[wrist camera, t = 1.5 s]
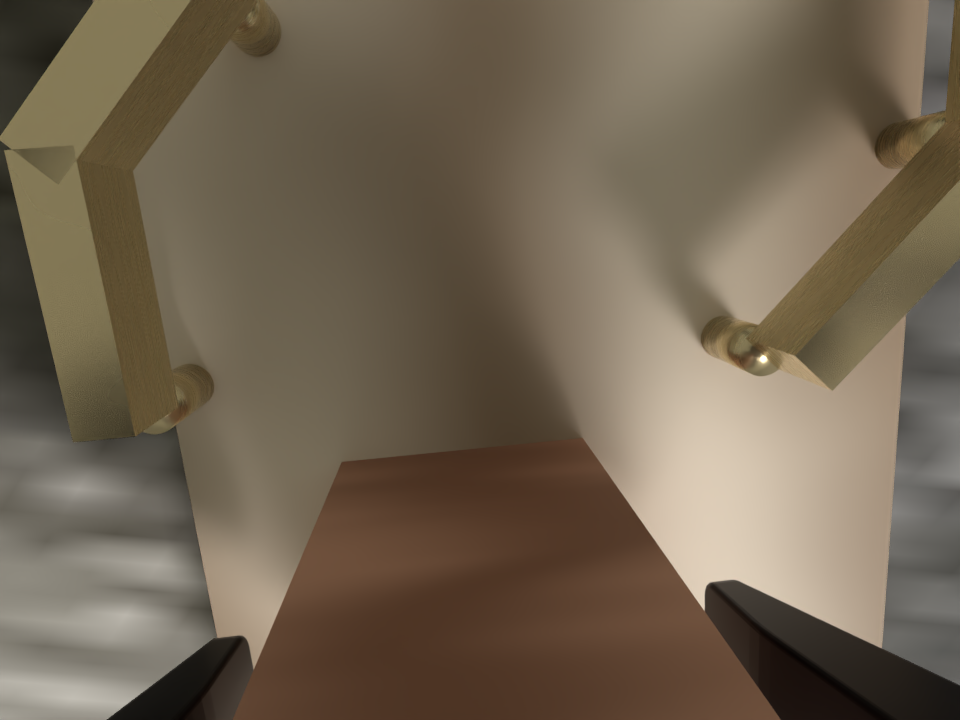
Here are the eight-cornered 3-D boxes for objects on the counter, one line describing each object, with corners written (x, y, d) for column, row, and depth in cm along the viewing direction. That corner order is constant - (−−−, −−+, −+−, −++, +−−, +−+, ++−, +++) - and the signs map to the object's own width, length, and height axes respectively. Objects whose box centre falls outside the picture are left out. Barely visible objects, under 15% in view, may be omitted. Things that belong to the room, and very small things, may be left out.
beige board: (942, -1068, 7) (1048, -1342, 6) (844, 647, 12) (890, 694, 11) (-80, -1096, 7) (-201, -1404, 5) (257, 717, 12) (236, 775, 11)
